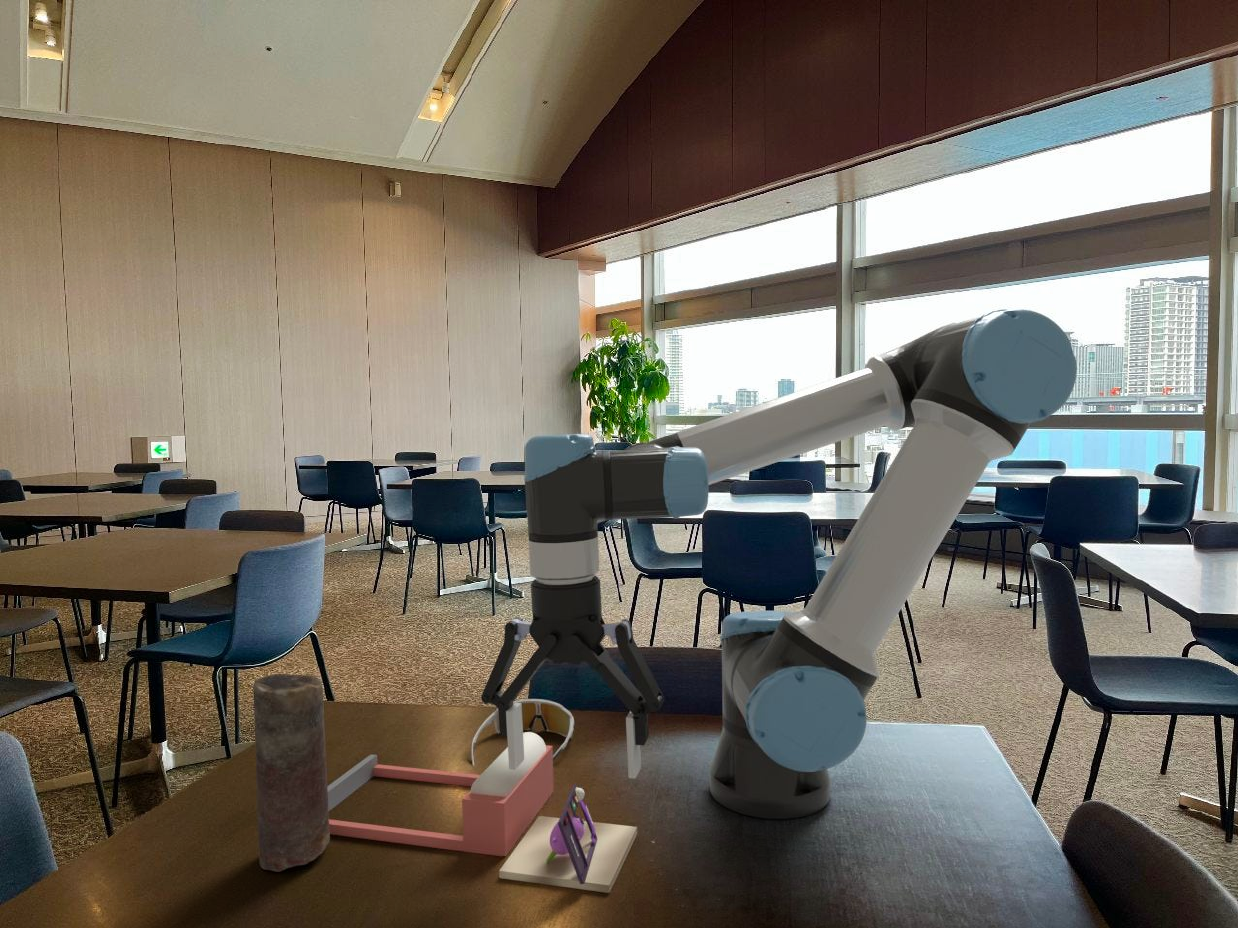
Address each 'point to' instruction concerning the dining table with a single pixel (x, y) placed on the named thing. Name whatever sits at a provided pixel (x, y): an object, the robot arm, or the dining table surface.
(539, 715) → the sunglasses
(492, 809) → the frame
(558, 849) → the purple toy
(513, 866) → the plate
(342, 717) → the dining table surface
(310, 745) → the brown stone cylinder
